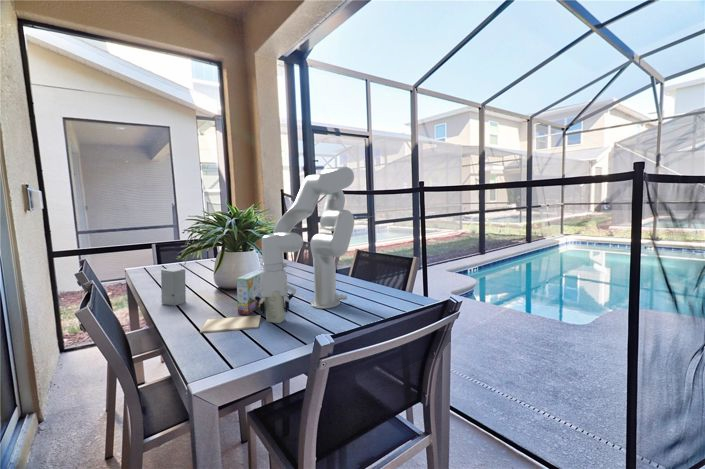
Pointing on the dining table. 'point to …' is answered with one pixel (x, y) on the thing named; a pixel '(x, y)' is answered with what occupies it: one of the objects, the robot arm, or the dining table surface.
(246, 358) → the dining table surface
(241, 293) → the snack box
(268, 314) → the skincare box
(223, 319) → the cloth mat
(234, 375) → the dining table surface
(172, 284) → the skincare box
